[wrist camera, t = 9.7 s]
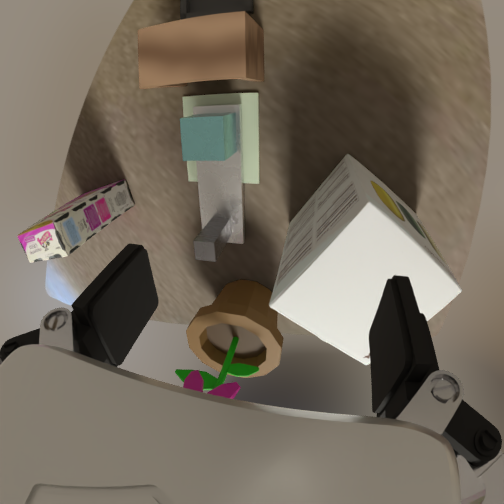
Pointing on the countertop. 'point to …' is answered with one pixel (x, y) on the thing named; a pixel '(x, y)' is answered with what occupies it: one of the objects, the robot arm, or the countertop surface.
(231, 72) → the tunnel
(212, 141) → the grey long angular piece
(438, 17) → the countertop surface
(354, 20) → the countertop surface
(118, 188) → the candy bar box
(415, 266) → the supplement box
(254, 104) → the board
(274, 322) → the flowerpot
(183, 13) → the tray
